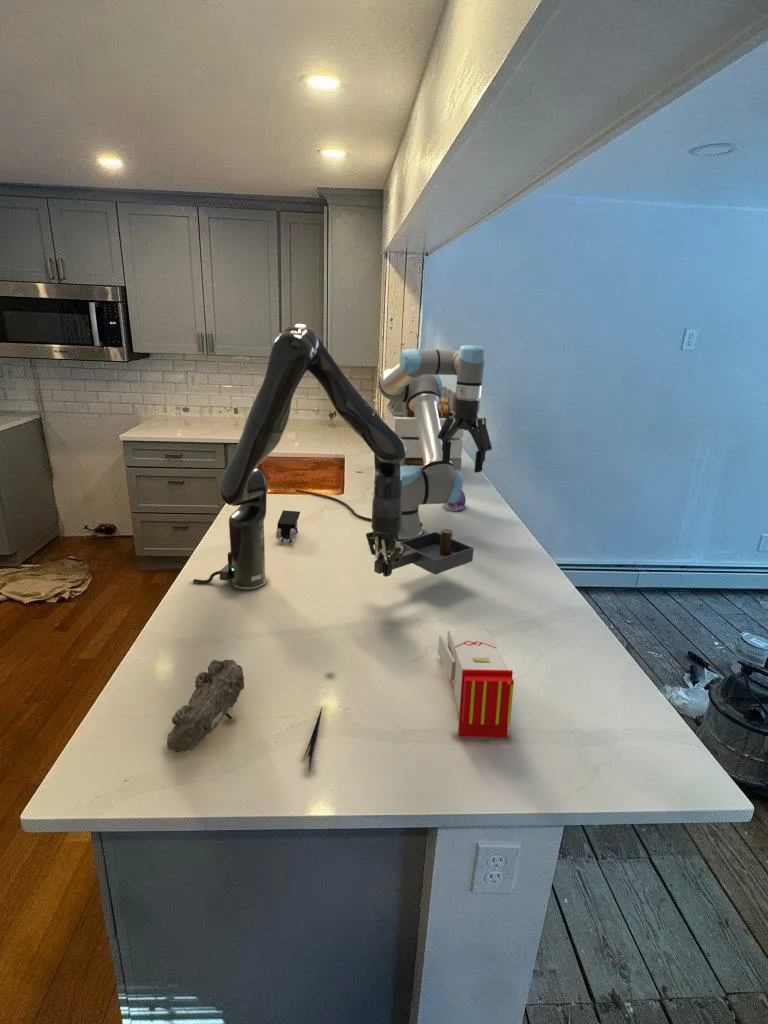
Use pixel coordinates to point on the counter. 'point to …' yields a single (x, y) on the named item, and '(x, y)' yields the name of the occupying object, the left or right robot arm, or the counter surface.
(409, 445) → the white slatted crate
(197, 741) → the fossil
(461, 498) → the figurine
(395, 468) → the left robot arm
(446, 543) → the peg
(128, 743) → the counter surface
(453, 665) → the toy
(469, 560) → the tray
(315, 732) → the feather
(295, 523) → the figurine character
